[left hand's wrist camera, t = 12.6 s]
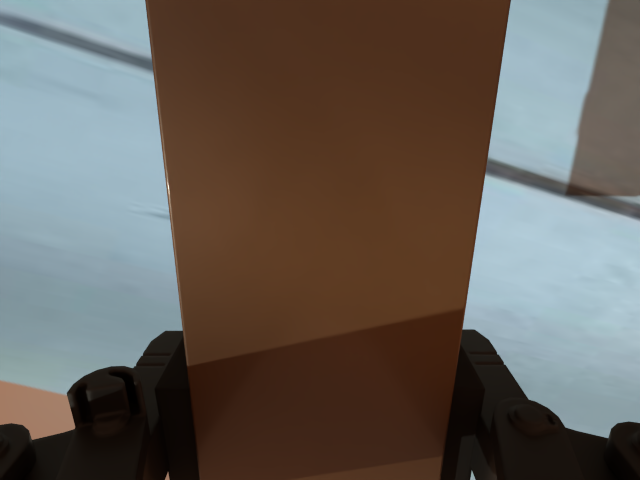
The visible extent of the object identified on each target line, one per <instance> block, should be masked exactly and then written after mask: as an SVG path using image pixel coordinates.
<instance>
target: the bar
mask: <svg viewBox="0 0 640 480" xmlns="http://www.w3.org/2000/svg"><path fill="white" fill-rule="evenodd" d="M145 1H146V10H147V19H148V28H149V37H150V45H151V54H152V63H153V72H154V81H155V89H156V98H157V107H158V116H159V125H160V133H161V142H162V151H163V160H164V169H165V178H166V186H167V195H168V204H169V213H170V222H171V230H172V239H173V248H174V257H175V266H176V274H177V283H178V292H179V301H180V310H181V318H182V327H183V336H184V345H185V354H186V362H187V371H188V380H189V389H190V398H191V406H192V415H193V424H194V433H195V442H196V451H197V459H198V468H199V477H200V480H440V478H441V471H442V464H443V457H444V451H445V444H446V437H447V430H448V423H449V417H450V410H451V403H452V396H453V389H454V383H455V376H456V369H457V362H458V355H459V349H460V342H461V335H462V328H463V321H464V315H465V308H466V301H467V294H468V287H469V281H470V274H471V267H472V260H473V253H474V247H475V240H476V233H477V226H478V219H479V213H480V206H481V199H482V192H483V185H484V178H485V172H486V165H487V158H488V151H489V144H490V138H491V131H492V124H493V117H494V110H495V104H496V97H497V90H498V83H499V76H500V70H501V63H502V56H503V49H504V42H505V36H506V29H507V22H508V15H509V8H510V2H511V0H145Z"/></svg>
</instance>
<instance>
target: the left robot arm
mask: <svg viewBox="0 0 640 480" xmlns="http://www.w3.org/2000/svg"><path fill="white" fill-rule="evenodd" d="M67 396H68V400H69V404H70V408H71V411H72V415H73V419H74V423H75V429H74V430H71V431H67V432H64V433H60V434H56V435H52V436H47V437H43V438H39V439H35V440H32V439H31V436H30V433H29V430H28V429H26V428H25V427H24V426H23V425H18V424H12V423H11V424H4V425H0V480H165V478H166V475H167V473H168V472H169V478H170V480H200V477H199V468H198V459H197V451H196V442H195V433H194V424H193V415H192V406H191V398H190V389H189V380H188V371H187V362H186V354H185V345H184V336H183V331H165V332H163V333H162V334H161V335H159V336H158V337H156V338H155V339H154V340H152V341H151V342H150V344H149V345H148V347H147V348H146V350H145V351H144V353H143V356H141V357H140V359H139V360H138V362H137V363H136V366H134V368H129V367H126V366H112V367H107V368H103V369H99V370H96V371H94V372H92V373H90V374H88V375H86V376H84V377H82V378H81V379H80V380H78V381H77V382H76V383H74V384H73V385H72V387H71V388H70V389H69V391H68V392H67ZM471 471H473V474H474V476H475V479H476V480H640V423H635V422H623V423H617V424H616V425H615V426H614V427H613V428H612V429H611V431H610V435H609V438H604V437H600V436H596V435H591V434H587V433H583V432H579V431H575V430H572V429H568V428H565V426H564V425H563V423H562V422H561V420H560V419H559V417H558V416H557V415H556V414H554V413H553V412H552V411H551V410H550V409H548V408H547V407H545V406H543V405H541V404H539V403H537V402H535V401H531V400H528V398H527V397H526V395H525V394H524V392H523V391H522V389H521V388H520V386H519V385H518V383H517V382H516V380H515V379H514V377H513V376H512V374H511V373H510V371H509V370H508V368H507V367H506V365H504V362H503V361H502V359H501V358H500V356H499V355H497V352H496V350H495V349H494V347H493V346H492V344H491V343H490V341H489V340H488V339H487V338H485V337H484V336H483V335H481V334H480V333H478V332H477V331H476V330H462V335H461V342H460V349H459V355H458V362H457V369H456V376H455V383H454V389H453V396H452V403H451V410H450V417H449V423H448V430H447V437H446V444H445V451H444V457H443V464H442V471H441V478H440V480H470V477H471Z"/></svg>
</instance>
